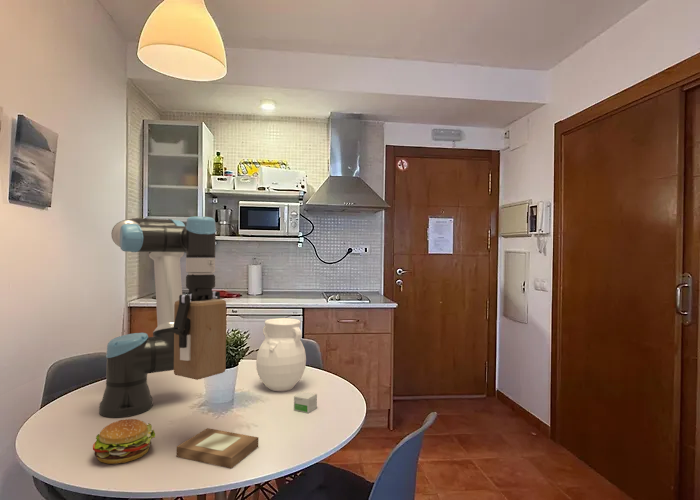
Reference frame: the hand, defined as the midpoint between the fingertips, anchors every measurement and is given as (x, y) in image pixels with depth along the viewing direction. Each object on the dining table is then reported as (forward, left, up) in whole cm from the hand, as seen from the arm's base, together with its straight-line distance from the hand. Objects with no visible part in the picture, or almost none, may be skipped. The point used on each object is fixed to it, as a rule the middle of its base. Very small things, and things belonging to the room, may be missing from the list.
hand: (200, 355), depth 117 cm
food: (-12, -13, -23) cm, 29 cm away
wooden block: (0, 0, -5) cm, 5 cm away
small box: (+17, +31, -23) cm, 43 cm away
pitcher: (-1, +48, -23) cm, 54 cm away
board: (+9, -4, -23) cm, 25 cm away
